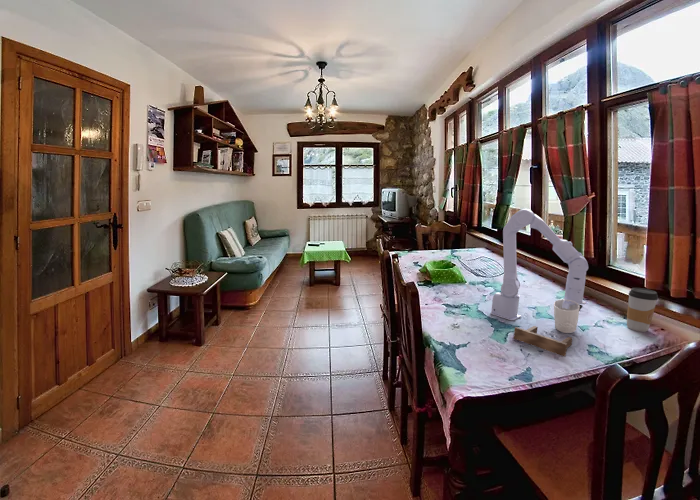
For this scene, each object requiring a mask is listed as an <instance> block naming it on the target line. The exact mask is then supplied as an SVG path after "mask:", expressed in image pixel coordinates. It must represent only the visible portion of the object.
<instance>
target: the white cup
mask: <svg viewBox="0 0 700 500" xmlns="http://www.w3.org/2000/svg"><path fill="white" fill-rule="evenodd" d="M564 301H567V302H569V301H571V302H572V303H576V305H571V306H570V307H569V309H566V308H562V304H563V302H564ZM580 305H581V304H578V303H577V302H575V301H572V300H568V299H564V298H563V299H562V298H561V299H557V300H555V301H554V302H553V315H554V317H553V318H554V319H553V320H554V328H555V329H556V330H557V331H558V332H561V333H565V334H572V333H575V332H576V331H577V325H578V321H579V315H580V311H579V309H580ZM580 310H581V309H580Z"/></svg>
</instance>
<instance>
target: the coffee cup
mask: <svg viewBox="0 0 700 500" xmlns="http://www.w3.org/2000/svg"><path fill="white" fill-rule="evenodd" d="M658 297H659V296H658V292H657V291H655V290H651V289H649V288H641V287H632V288H631V289H630V290H629V292H628V302H627V313H626V326H627V327H626V328H628V329H629V330H632V331H636V332H642V333H646V332H648V331H649V330H650V325H651V323H652V319H653V316H654V312H655V308H656V304H657V301H658V300H659V298H658Z"/></svg>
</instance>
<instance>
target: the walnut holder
mask: <svg viewBox="0 0 700 500" xmlns="http://www.w3.org/2000/svg"><path fill="white" fill-rule="evenodd" d="M538 328H539V327H538V326H536V325H533V326H532V327H529V328H527V329H524V328H520V327H517V326H515V327H514V330H513V339H514V340H517V341H519V342H523V343H525V344H528V345H530V346H533V347H535V348H539V349H542V350H544V351H546V352H547V351H548V352H550V353H553V354H555V355H557V356H558V355H559V356H562V357H566V356H567V350H568V349H567V348H569V347H571V346H572V344H573V337H572V336H567V337H566V338H564V339H563V340H561V341H560V340H557V339H554V338H551V337H549V336H545V335H542V334H539V333H538Z"/></svg>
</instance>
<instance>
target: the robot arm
mask: <svg viewBox="0 0 700 500" xmlns="http://www.w3.org/2000/svg"><path fill="white" fill-rule="evenodd" d="M527 226H529V228H530V229H534V230H536V231H538V232H540V234H542V235H543V236H544V238H546V239H547V240H548V241H549V242H550V244H551V245H552V251H553V252H554V253H555V254H556V255H557V256H558V257H559V258H560V259H561V260H562V261H563V263H566V264H567V265H568V274H567V275H566V283H565V290H564V291H565V292H564V297H563V299H568V300H572V301H575V302H577V303H578V304H579V305H580V309H579V312H580V311H581V309H582V308H584V307H583V305H585V304H586V305H587V301H585V300H584V293H585V285H586V280H587V279H586V276H587V271H588V270H589V264H588V263H589V262H588V261H587V259H586V258H585V256H583V253H581V252H580V251H578V250H577V249H576V248H575V247H574V246H573V242H572V241H568V240H567V239H561V238H560V237H559V236H558V235H557V233H555V232H554V231H553V230H552V228H551V227H550V226H549V225H548V223H546V222H545V220H544V219H543V218H541V217H540V216H539V215H537V214H536V213H534V212H533V211H532V209H530V208H521V209H520V210H518V211H516V212H515V213H514V214H513V215H511V217H510V218H509V220H508V221H507V223H506V224H505V226H504V227H503V228H502V229H503V230H502V239H503V240H502V241H503V243H502V244H503V247H502V248H503V251H502V252H503V277H502V285H501V286H500V292H498V291H497V292H495V293H494V294H493V297H492V303H491V312H490V313H489V314H490V315H493V316H497V317H499V318H502V319H506V320H509V321H512V322H513V321H514V320H515V321H516V320H517V319H519V318H521V317H522V315H521V314H519V304H520V297H521V296H520V294H519V289H520V288H521V283H520V281H519V278H518V271H517V270H518V269H517V266H518V265H517V233H518V232H519V231H521V230H522V229H523V228H525V227H527ZM571 305H576V303H572V302H571V301H569V302H567V301H564V302H563V304H562V308H566V309H569V307H570V306H571Z"/></svg>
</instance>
